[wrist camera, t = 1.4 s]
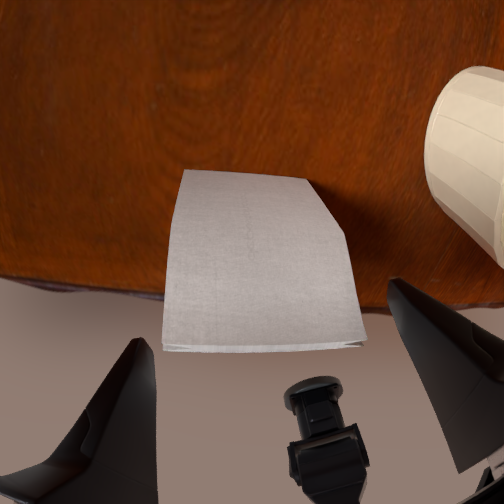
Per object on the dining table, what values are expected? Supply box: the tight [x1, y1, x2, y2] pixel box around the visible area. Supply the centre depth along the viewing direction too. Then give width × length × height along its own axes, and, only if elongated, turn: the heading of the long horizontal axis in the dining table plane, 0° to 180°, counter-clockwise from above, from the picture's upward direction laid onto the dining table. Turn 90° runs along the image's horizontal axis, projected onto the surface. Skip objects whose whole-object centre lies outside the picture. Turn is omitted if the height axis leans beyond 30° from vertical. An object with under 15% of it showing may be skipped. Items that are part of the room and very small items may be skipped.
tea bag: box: [162, 170, 367, 353], centre depth 13 cm, size 4×7×10 cm, turn 83°
